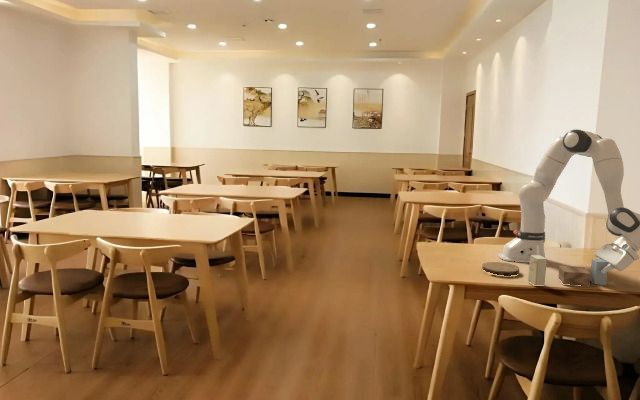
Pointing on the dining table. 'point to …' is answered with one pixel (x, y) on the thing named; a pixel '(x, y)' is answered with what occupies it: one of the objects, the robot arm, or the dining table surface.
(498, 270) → the grey brown disc
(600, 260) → the slate block
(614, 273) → the dining table surface
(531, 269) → the skincare box
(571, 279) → the walnut block
